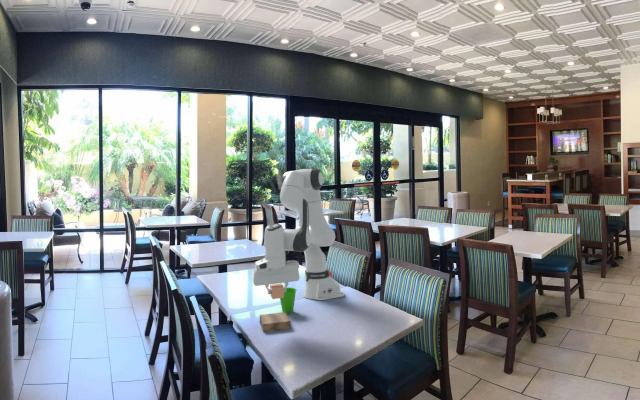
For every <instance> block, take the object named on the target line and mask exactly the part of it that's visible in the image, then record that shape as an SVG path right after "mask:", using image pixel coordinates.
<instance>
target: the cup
mask: <svg viewBox="0 0 640 400" xmlns="http://www.w3.org/2000/svg"><path fill="white" fill-rule="evenodd" d="M296 292H297V289H296V288H295V287H289V286H287V288H286V292H284V298H279V299H280V305H281V311H282V312H286V314H287V315H289V314H292V313H294V307H295V300H296Z"/></svg>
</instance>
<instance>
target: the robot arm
mask: <svg viewBox="0 0 640 400" xmlns="http://www.w3.org/2000/svg"><path fill="white" fill-rule="evenodd" d="M323 185H324V175H323V172H322V171H321V169H318V168H302V169H297V170H288V171H285V172H284V174H282V176H281V189H280V193H279V201H280V203H281V204H282V206H283V207H284V208H286V209H288V210H290V211H293V212H295V213H297V214H298V227H297V228H295V229H290V228H289V229H288V228H287V229H286V228H283V227H284V226H283V225H282V224H280V223H271V224H269V225H267V226H266V227H265V228H264V234H263V235H264V236H263V237H264V238H263V240H264V241H263V242H264V243H263V245H264V249H265V253H264V257H263V258H262V259H260V260H257V261H254V267H255V268H254V269H253V273H252V284H253V285H254V286H255V287H258V286H264V287H265V288H266V291H267V294H268V295H271V294H272V290H271V289H270V288H269V287H270V285H271V284H280V283H281V284H284V285H283V287H284V292H286V288H287V287H289V283H291V282H299V280H300V272H299V268H300V263H299V261H297V260H295V259H293V260H286V258H287V257H286V251H289V252H291V251H292V252H299V253H304V259H305V270H304V272H305V273H304V281H305V286H304V293H303V295H302V296H303V297H304V298H305V299H309V300H316V301H325V300H332V299H338V298H342V297H345V292H344V290H342V289H341V286H340V284H339V282H338V281H336V280H335V279H334V278H333V277H331V276H332V275H333V272H332V271H331V270H330V271H329V270H328V269H327V263H326V261H327V258H326V254H325V253H324V252H323V251H322V249H321V247H329V246H332V245H333V244H334V242H335V239H336V234H335V231H334V229H333V228H331V227H330V225H329V224H328V222H327V220H326V218H325V214H324V211H323V203H322V196H321V190H320V189H321V188H322V187H323Z"/></svg>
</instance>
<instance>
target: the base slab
mask: <svg viewBox="0 0 640 400" xmlns="http://www.w3.org/2000/svg"><path fill="white" fill-rule="evenodd" d="M259 324H260V326H261V330H262V332H263V333H269V332H270V333H271V332H277V331H278V332H279V331H284V330H291V326H292V325H291V319H290V318H289V316H288V314H286V312H283V311H282V312H275V313H263V314H259Z"/></svg>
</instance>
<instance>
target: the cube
mask: <svg viewBox="0 0 640 400" xmlns="http://www.w3.org/2000/svg"><path fill="white" fill-rule="evenodd" d="M269 287H270V288H269V289H271V290H272V294H270V297H271V299H272V300H276V299H280V298H284V285H283V283H277V284H269Z"/></svg>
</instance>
